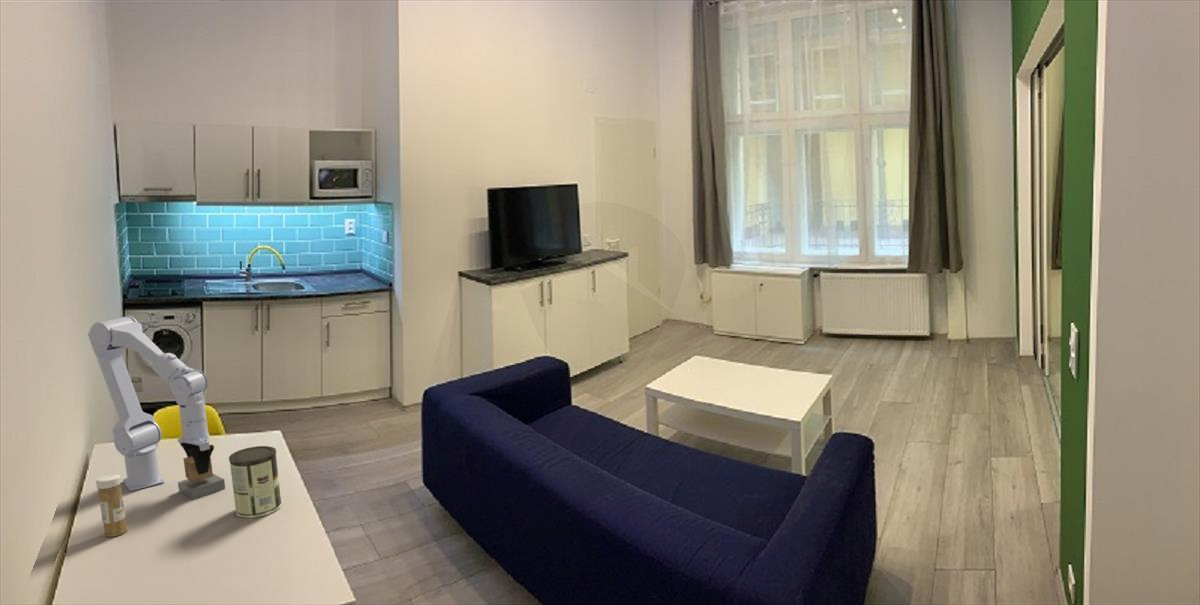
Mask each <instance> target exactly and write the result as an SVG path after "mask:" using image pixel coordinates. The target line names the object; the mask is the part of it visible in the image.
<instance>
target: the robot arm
mask: <svg viewBox="0 0 1200 605" xmlns="http://www.w3.org/2000/svg"><path fill="white" fill-rule="evenodd" d="M87 336H88V340H89V341H90V345H91V348H92V349H93V352H94V355H95V357H96V359H97V363H98V365H99V367H100V369H101V370H100V371H101V373H102V376H103V379H104V382H105V384H106V386H107V389H108V392H109V394H110V397H111V400H112V403H113V406H114V408H115V411H116V414H117V416H118V421H117V422H116V424H115V425H114V426H113V428H112V429H111V430H112V434H113V439H114V440H113V442H114V446H115V450H117V452H119V453H120V454H121V455H122V456H124V457H123V458H124V464H125V466H124V467H125V471H126V478H124V479H123V480H122V481H123V483H124V484H125V486H126V487H127V489H128V491H129V492H132V491H133V492H134V491H137V490H140V489H144V488H147V487H148V488H149V487H152V486H156V485H160V484H163V483H165V480H164V478H163V477H162V476H161V474H160V469H159V461H158V453H157V448H158V447H159V443H160V441H161V440H162V438H163V437H162V436H163V433H162V428H161V427H160V425H159V424H157V421H156V420H155V417H154V416H153V415H152V414H150V413H146V412H144V411H143V409H142V407H141V404H140V401H139V398H138V396H137V393H136V390H135V386H134V385H133V384H134V383H133V381H132V379H131V376H130V373H129V371H128V369H127V365H126V362H125V360H124V357H123V355H124V352H125V350H126V349H127V348H128V347H129V348H131V349H132V350H133V351H135V352H136V353H138V354H139V355H141V356H142V357H144V358H145V359H146V360H148V361H149V362H150V363H152V365H151V366H152V370H153V371H154V372H155V373H156V374H157V375H158V376H159V377H161V378H162V379H163V380H164V381H166V383H168V384H169V385H170V391H171V393H172V395H173V396H174V397H175V402H176V404H177V405H178V408H179V416H180V425H181V426H180V427H181V434H182V437H180V438H177V442H178V443H179V445H180V446H181V447H182V449H183V450H184V452H185V455H186V458H187V457H191V456H192V457H193V460H194V462H195V466H196V469H197V472H198V474H199V475H200V474H204V473H207V472H208V469H209V461H210V458H211V456H212V453H213V452H214V449H215V445H213V444H210V441H209V440H210V433H209V429H208V421H207V420H208V419H207V412H206V404H205V396H204V392H205V391H206V390H207V388H208V386H209V382H208V378H207V376H206V374H205V373H204V372H203V371H202V370H200V369H194V368H193V367H192V368H191V367H189V366H187V365H186V364H185V363H184V362H183V361H181V360H180V359H179V357H177V355H175V354H174V353H171V352H163V351H162V350H161V349H160V347H158V346H157V345H156V343H154V342H153V341H152V340H151V339H150V338H149V337H148V336H147V335H146V334H145V333H144V332H143V327H142V323H140V322H139V321H138V320H137V319H136V318H135V317H134V316H130V315H125V316H123V317H120V318H116V319H110V320H105V321H98V322H95V323H93V324H92V325H91V327H90V329H89V332H88V334H87ZM133 426H134V427H133Z"/></svg>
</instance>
